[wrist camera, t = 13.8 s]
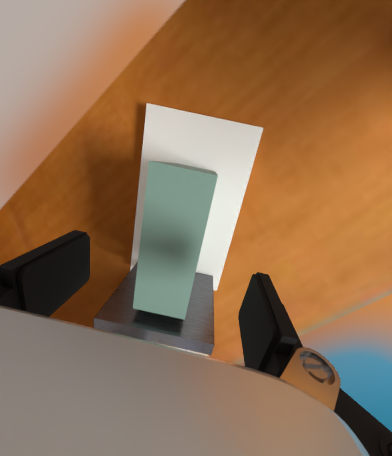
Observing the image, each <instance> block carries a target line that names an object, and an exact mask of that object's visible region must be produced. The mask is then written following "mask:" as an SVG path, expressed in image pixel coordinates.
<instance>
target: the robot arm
mask: <svg viewBox="0 0 392 456" xmlns="http://www.w3.org/2000/svg"><path fill="white" fill-rule="evenodd" d="M89 277H90V237H89V236H88V235H87V233H86V232H82V231H77V230H74V231H72V232H70V233H67V234H65V235H63V236H61V237H59V238H57V239H55V240H53V241H51V242H48V243H46V244H44V245H42V246H40V247H38V248H36V249H34V250H32V251H30V252H27V253H25V254H23V255H21V256H19V257H17V258H15V259H13V260H11V261H8V262H6V263H4V264H2V265H0V456H392V432H391V431H390V430H389V429H387V428H386V427H385V426H384V425H383V424H382V423H380V422H379V421H378V420H377V419H376V418H374V417H373V416H372V415H371V414H370V413H369V412H367V411H366V410H365V409H364V408H363V407H361V406H360V405H359V404H358V403H357V402H356V401H354V400H353V399H352V398H351V397H350V396H349V395H348V394H346V393H345V392H344V391H342V389H340V378H339V375H338V373H337V371H336V370H335V368H334V367H333V365H332V364H331V363H330V362H329V361H328V360H327V359H326V358H325V357H324V356H322V355H321V354H319V353H318V352H316V351H314V350H312V349H310V348H305V347H303V346H302V344H301V341H300V339H299V337H298V335H297V333H296V331H295V329H294V327H293V324H292V322H291V320H290V318H289V316H288V314H287V312H286V309H285V307H284V305H283V304H282V303H281V301H280V299H279V296H278V294H277V292H276V290H275V288H274V286H273V283H272V281H271V279H270V277H269V275H267V274H263V273H259V272H257V273H256V274H253V275H252V277H251V280H250V283H249V286H248V289H247V291H246V294H245V297H244V300H243V302H242V305H241V308H240V311H239V317H238V318H239V326H240V333H241V340H242V347H243V354H244V362H245V367H244V366H240V365H237V364H234V363H230V362H226V361H222V360H219V359H215V358H211V357H208V356H204V355H200V354H196V353H192V352H188V351H184V350H180V349H176V348H172V347H168V346H164V345H160V344H157V343H153V342H149V341H145V340H141V339H137V338H133V337H129V336H125V335H121V334H117V333H113V332H108V331H104V330H100V329H96V328H92V327H88V326H84V325H80V324H76V323H72V322H68V321H64V320H59V319H55V318H51V317H49V316H50V315H51V314H53V313H54V312H55V311H56V310H57V309H58V308H59V307H60V306H61V305H62V304H63V303H65V302H66V301H67V300H68V299H69V298H70V297H71V296H72V295H73V294H74V293H75V292H77V291H78V290H79V289H80V288H81V287H82V286H83V285H84V284H85V283H86V282H87V281H88V280H89Z"/></svg>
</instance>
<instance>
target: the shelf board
mask: <svg viewBox="0 0 392 456" xmlns="http://www.w3.org/2000/svg"><path fill="white" fill-rule="evenodd" d="M262 131H263V128H262V127H257V126H252V125H248V124H243V123H238V122H233V121H229V120H224V119H219V118H215V117H210V116H205V115H201V114H196V113H191V112H186V111H182V110H177V109H172V108H168V107H163V106H158V105H153V104H149V103H147V106H146V116H145V126H144V136H143V147H142V157H141V167H140V177H139V187H138V197H137V207H136V217H135V227H134V237H133V248H132V258H131V268H130V271H131V269H132V268H133V267H134V265H135V264H136V263H137V261H138V256H139V247H140V238H141V229H142V220H143V211H144V202H145V193H146V184H147V175H148V166H149V161H159V162H171V163H178V164H183V165H188V166H192V167H197V168H202V169H206V170H211V171H215V172H216V173H217V175H218V178H217V182H216V186H215V191H214V195H213V199H212V204H211V208H210V212H209V216H208V221H207V225H206V229H205V234H204V238H203V242H202V247H201V251H200V255H199V260H198V264H197V268H196V272H198V273H202V274H207V275H211V276H213V290H216V291H217V288H218V284H219V281H220V277H221V274H222V270H223V267H224V263H225V260H226V257H227V253H228V250H229V246H230V243H231V239H232V236H233V232H234V229H235V225H236V222H237V218H238V215H239V211H240V208H241V204H242V201H243V197H244V194H245V190H246V187H247V183H248V180H249V176H250V173H251V169H252V166H253V162H254V159H255V155H256V152H257V149H258V145H259V142H260V138H261V135H262Z"/></svg>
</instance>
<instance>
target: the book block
mask: <svg viewBox="0 0 392 456" xmlns="http://www.w3.org/2000/svg"><path fill="white" fill-rule="evenodd" d="M217 178H218V175H217V173H216V172H215V171H211V170H206V169H202V168H197V167H192V166H188V165H183V164H178V163H171V162H159V161H149V166H148V175H147V184H146V193H145V202H144V211H143V220H142V229H141V238H140V247H139V256H138V265H137V275H136V284H135V293H134V302H133V308H134V309H138V310H143V311H147V312H152V313H156V314H161V315H165V316H170V317H175V318H179V319H184V320H185V316H186V312H187V307H188V303H189V299H190V294H191V290H192V286H193V281H194V277H195V273H196V268H197V264H198V260H199V255H200V251H201V247H202V242H203V238H204V234H205V229H206V225H207V221H208V216H209V212H210V208H211V204H212V199H213V195H214V191H215V186H216V182H217Z"/></svg>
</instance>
